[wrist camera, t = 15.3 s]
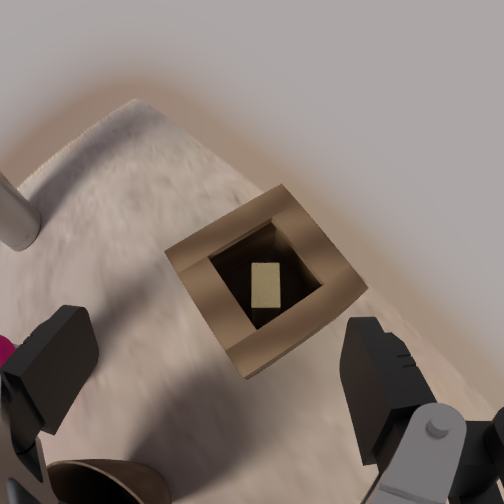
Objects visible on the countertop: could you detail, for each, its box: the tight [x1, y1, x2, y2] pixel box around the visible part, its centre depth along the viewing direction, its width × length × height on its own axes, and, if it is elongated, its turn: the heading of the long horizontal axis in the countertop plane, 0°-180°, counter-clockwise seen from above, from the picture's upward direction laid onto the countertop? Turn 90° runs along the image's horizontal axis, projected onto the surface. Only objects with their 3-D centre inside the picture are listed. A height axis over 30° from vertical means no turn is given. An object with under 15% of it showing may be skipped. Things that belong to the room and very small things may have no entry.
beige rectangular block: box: [252, 263, 280, 325], centre depth 38 cm, size 5×3×10 cm, turn 0°
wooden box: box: [164, 184, 368, 380], centre depth 37 cm, size 15×15×13 cm
